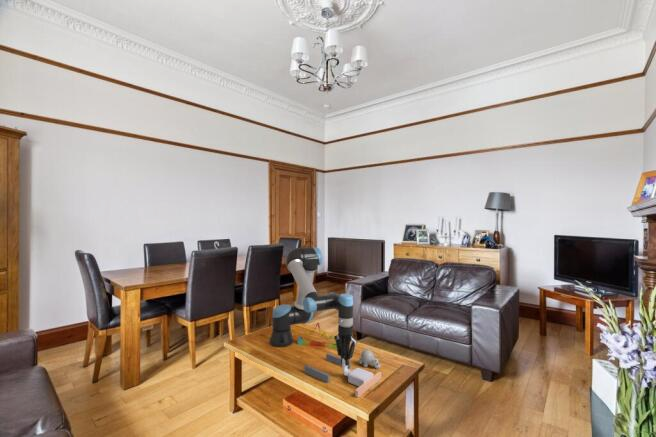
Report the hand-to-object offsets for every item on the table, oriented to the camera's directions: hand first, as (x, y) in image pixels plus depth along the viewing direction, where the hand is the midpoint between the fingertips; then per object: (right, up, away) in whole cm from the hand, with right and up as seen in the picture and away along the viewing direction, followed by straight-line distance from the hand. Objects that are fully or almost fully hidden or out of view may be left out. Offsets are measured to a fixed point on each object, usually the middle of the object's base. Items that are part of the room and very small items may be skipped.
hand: (344, 370), depth 158 cm
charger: (+5, -4, -3) cm, 7 cm away
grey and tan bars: (-2, -3, +1) cm, 4 cm away
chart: (-13, -4, +38) cm, 40 cm away
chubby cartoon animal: (+14, -4, +11) cm, 19 cm away
